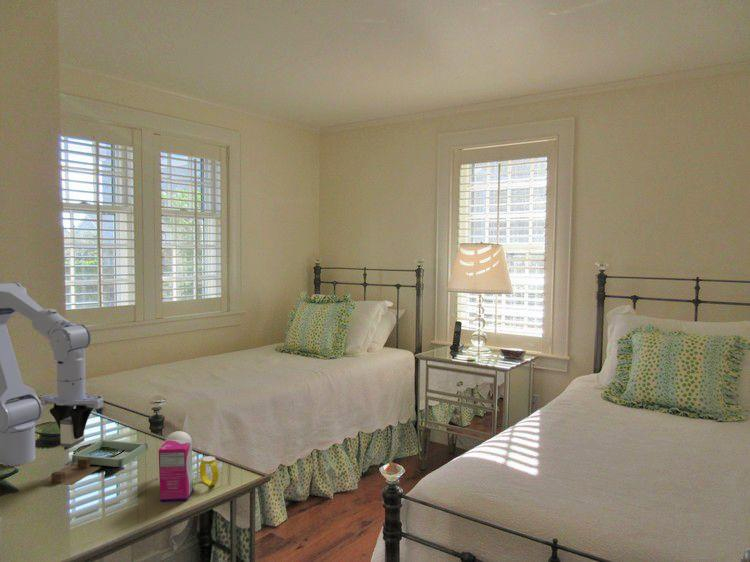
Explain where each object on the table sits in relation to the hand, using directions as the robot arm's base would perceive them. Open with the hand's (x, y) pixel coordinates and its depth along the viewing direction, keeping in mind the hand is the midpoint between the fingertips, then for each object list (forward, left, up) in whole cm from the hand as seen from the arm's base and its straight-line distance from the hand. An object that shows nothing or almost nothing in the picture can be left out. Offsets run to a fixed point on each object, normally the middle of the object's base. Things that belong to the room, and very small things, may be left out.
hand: (72, 436), depth 128 cm
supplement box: (+28, -4, -10) cm, 30 cm away
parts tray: (+2, +11, -9) cm, 15 cm away
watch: (+32, +3, -10) cm, 33 cm away
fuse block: (0, -1, -9) cm, 9 cm away
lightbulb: (+24, +4, -10) cm, 26 cm away
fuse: (0, 0, -2) cm, 2 cm away
